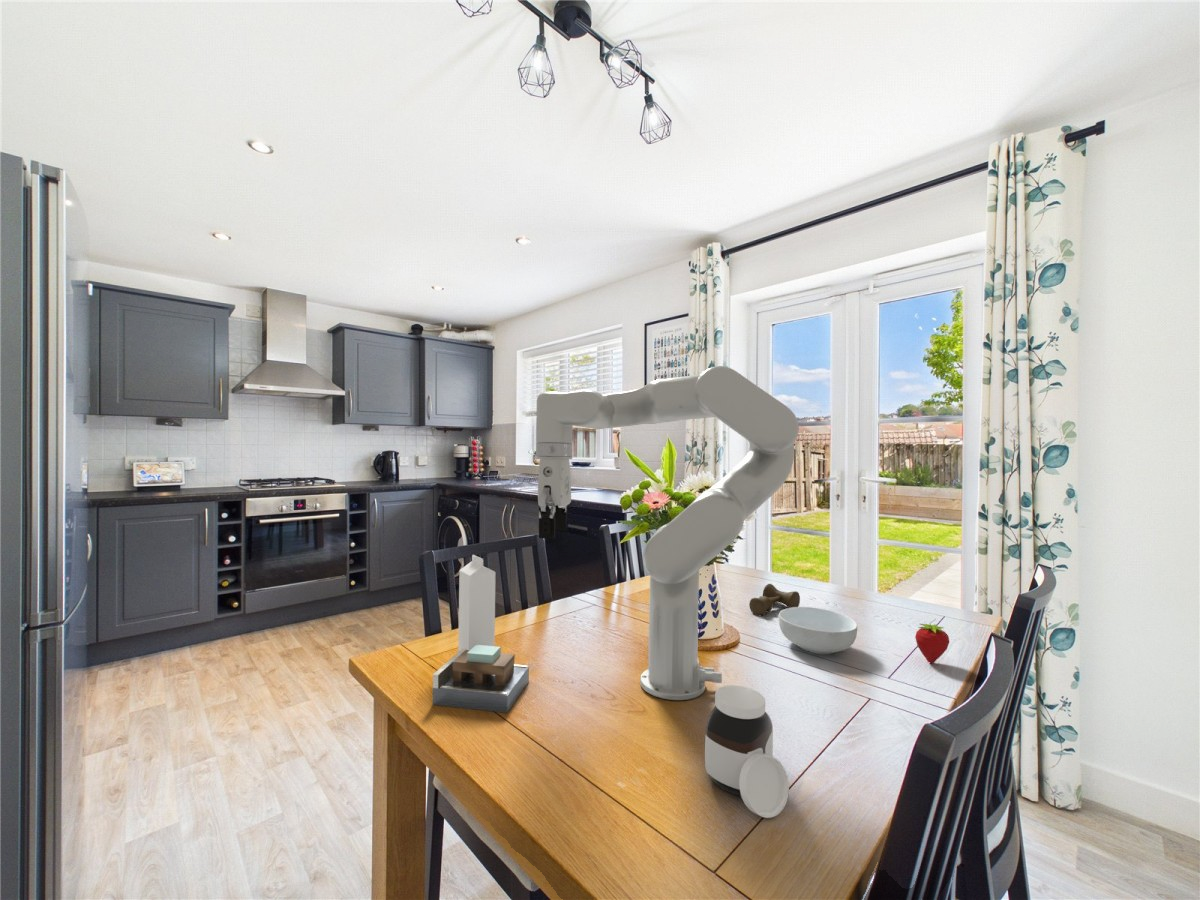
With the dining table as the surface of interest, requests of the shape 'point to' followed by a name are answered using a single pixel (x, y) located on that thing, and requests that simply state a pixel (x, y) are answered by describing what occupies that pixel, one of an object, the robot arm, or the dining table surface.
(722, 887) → the dining table surface
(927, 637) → the strawberry
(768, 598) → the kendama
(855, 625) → the cereal bowl
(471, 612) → the milk
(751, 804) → the spread jar
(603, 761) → the dining table surface
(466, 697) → the tray
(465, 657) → the pallet
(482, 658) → the cargo
